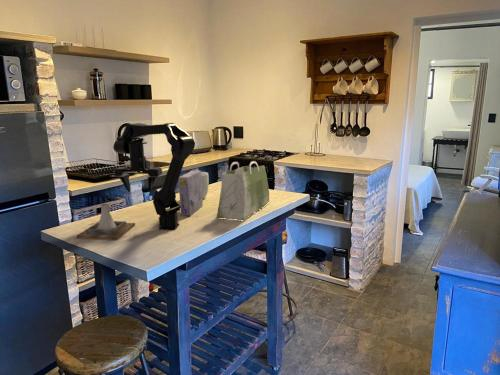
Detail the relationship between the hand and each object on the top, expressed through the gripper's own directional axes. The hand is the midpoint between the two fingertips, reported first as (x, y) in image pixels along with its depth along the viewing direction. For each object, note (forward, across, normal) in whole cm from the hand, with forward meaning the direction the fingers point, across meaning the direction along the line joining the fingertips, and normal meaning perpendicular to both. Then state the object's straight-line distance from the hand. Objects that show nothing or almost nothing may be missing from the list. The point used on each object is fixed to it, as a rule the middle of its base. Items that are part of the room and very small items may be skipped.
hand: (139, 191), depth 155 cm
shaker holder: (+13, +9, +13) cm, 20 cm away
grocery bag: (+13, -41, -20) cm, 48 cm away
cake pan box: (+13, -17, -18) cm, 28 cm away
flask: (+12, +9, +13) cm, 20 cm away
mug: (+13, -14, -41) cm, 45 cm away
